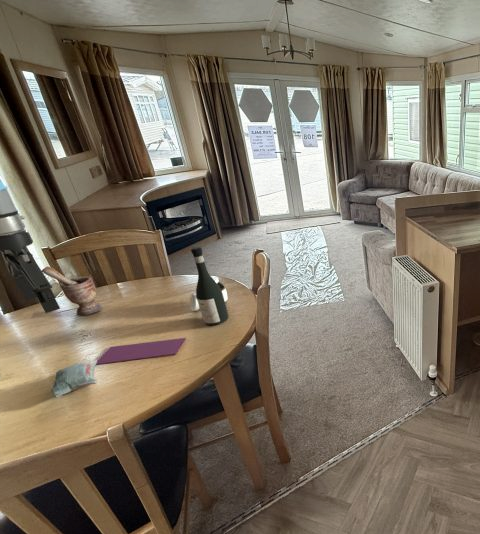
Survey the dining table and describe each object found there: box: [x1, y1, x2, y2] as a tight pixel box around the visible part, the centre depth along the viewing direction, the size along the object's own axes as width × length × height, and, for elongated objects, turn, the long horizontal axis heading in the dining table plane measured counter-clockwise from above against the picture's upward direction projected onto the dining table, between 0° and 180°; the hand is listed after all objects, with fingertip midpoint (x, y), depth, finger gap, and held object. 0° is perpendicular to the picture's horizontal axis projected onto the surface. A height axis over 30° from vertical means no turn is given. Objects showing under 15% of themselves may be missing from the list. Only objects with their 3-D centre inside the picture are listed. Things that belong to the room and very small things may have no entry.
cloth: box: [95, 337, 187, 366], centre depth 112 cm, size 22×9×1 cm, turn 106°
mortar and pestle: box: [41, 266, 103, 316], centre depth 128 cm, size 12×9×20 cm
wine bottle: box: [190, 246, 229, 326], centre depth 123 cm, size 8×8×30 cm
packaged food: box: [51, 358, 98, 398], centre depth 97 cm, size 9×12×5 cm
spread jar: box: [189, 275, 229, 312], centre depth 136 cm, size 12×11×12 cm
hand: (42, 304), depth 94 cm, fingers open, 13 cm apart
